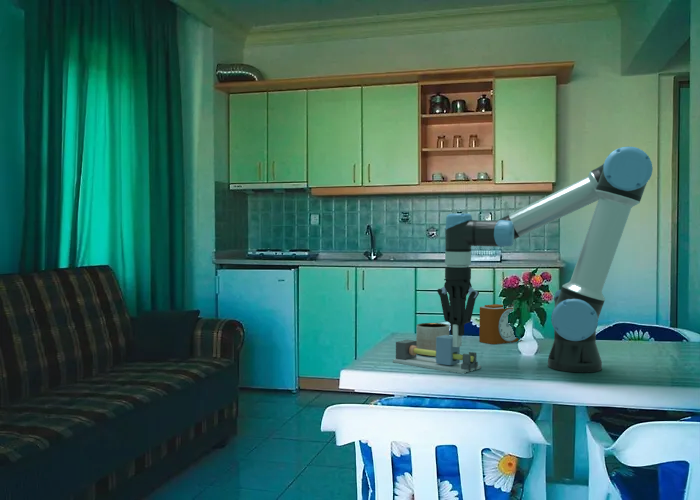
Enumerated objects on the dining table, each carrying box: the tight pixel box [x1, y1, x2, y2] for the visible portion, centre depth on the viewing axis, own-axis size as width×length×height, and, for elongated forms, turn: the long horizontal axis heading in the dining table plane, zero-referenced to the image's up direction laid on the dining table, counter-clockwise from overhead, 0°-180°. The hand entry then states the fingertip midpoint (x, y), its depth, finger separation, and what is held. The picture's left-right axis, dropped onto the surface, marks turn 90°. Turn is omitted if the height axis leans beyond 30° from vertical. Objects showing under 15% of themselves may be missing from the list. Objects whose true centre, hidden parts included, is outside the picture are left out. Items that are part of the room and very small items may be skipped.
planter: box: [415, 322, 450, 358], centre depth 217 cm, size 11×11×10 cm
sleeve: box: [435, 334, 461, 365], centre depth 195 cm, size 5×5×8 cm
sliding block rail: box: [392, 339, 482, 374], centre depth 198 cm, size 25×10×6 cm, turn 50°
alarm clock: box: [478, 303, 519, 345], centre depth 241 cm, size 15×8×14 cm, turn 123°
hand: (457, 346), depth 193 cm, fingers closed
